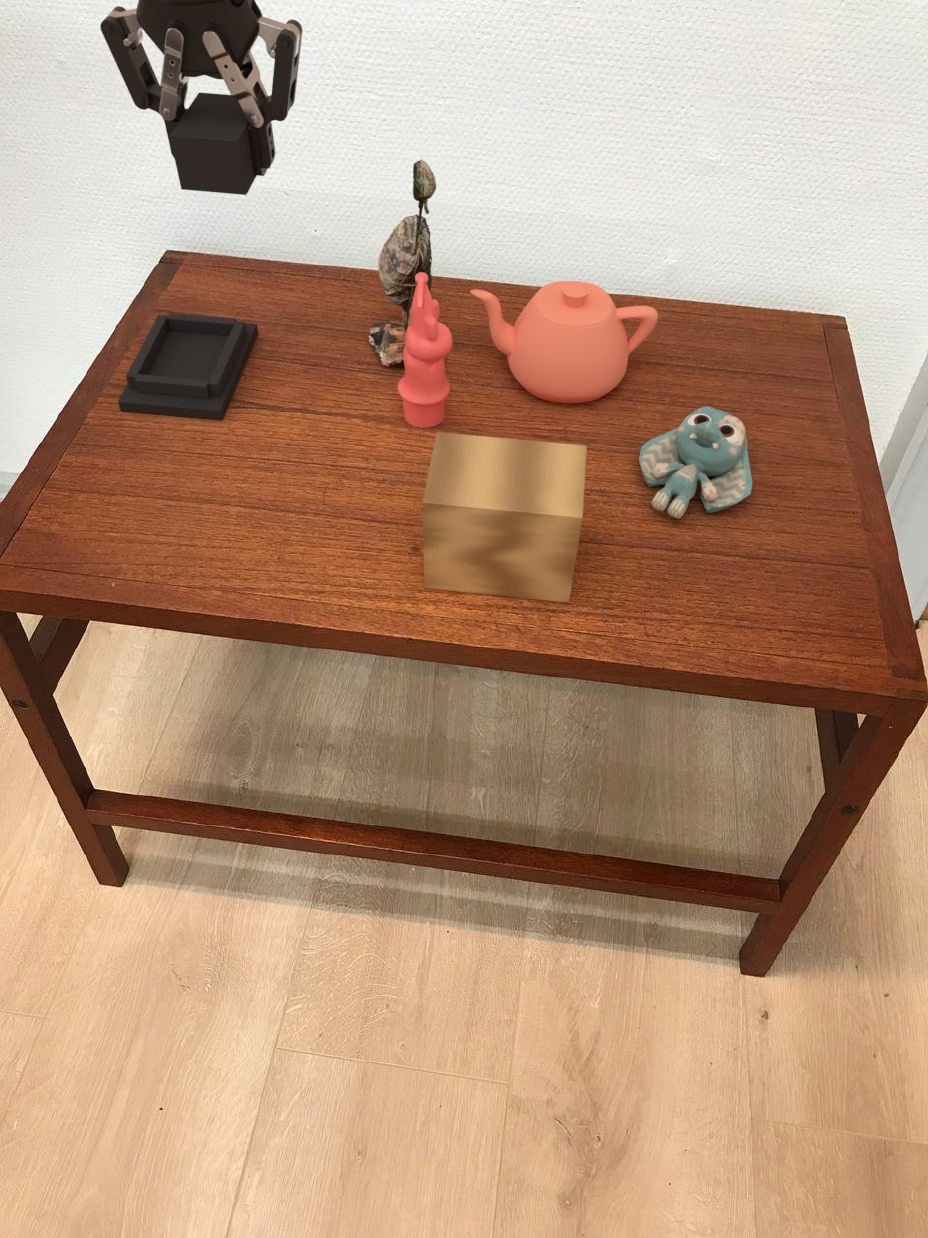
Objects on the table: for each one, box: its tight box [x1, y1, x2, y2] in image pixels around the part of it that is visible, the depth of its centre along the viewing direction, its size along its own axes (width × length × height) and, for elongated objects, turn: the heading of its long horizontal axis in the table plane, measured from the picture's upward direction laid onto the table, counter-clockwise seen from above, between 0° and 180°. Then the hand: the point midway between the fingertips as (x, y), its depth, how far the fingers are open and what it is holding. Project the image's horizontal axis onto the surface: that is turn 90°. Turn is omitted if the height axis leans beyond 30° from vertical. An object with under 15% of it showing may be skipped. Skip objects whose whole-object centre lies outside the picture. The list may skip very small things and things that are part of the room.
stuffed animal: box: [638, 406, 753, 520], centre depth 86 cm, size 11×7×12 cm
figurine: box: [397, 272, 454, 429], centre depth 88 cm, size 5×5×15 cm
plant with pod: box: [368, 159, 437, 367], centre depth 94 cm, size 8×11×20 cm
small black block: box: [170, 92, 258, 196], centre depth 73 cm, size 7×5×4 cm
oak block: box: [421, 431, 588, 603], centre depth 79 cm, size 12×8×10 cm, turn 83°
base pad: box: [117, 312, 259, 421], centre depth 97 cm, size 14×10×3 cm
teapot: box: [470, 280, 659, 404], centre depth 95 cm, size 12×18×10 cm
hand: (226, 166), depth 75 cm, fingers closed on small black block, 5 cm apart
